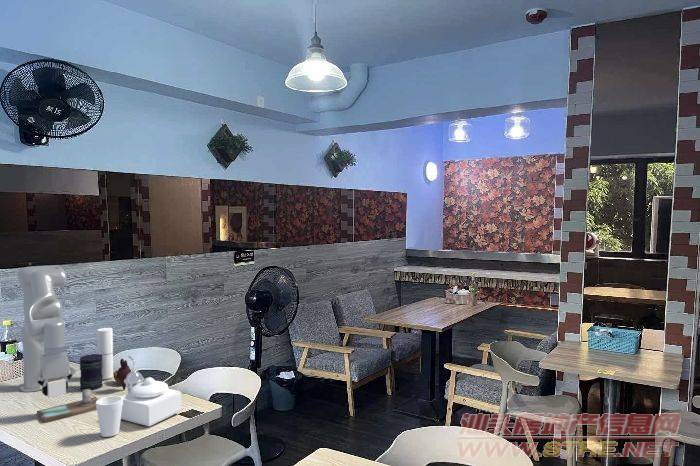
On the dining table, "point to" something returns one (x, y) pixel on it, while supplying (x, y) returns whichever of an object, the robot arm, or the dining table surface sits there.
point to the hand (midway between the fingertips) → (55, 392)
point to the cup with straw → (133, 378)
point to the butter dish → (150, 402)
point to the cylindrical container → (106, 350)
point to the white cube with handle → (56, 387)
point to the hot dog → (116, 378)
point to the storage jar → (91, 372)
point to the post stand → (69, 408)
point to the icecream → (123, 372)
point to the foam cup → (109, 414)
